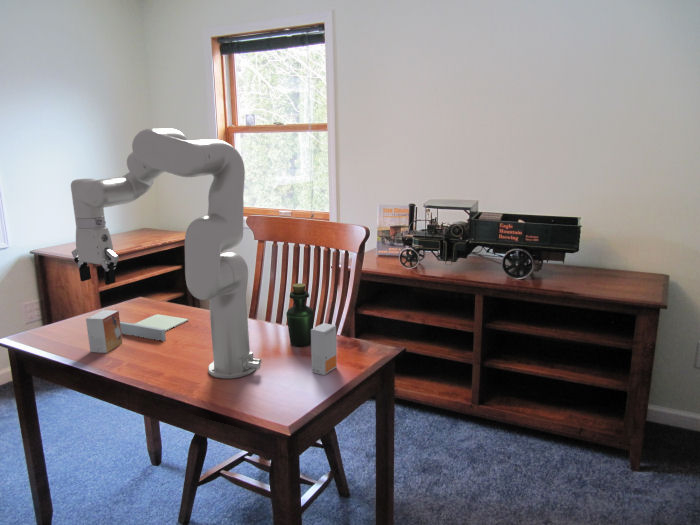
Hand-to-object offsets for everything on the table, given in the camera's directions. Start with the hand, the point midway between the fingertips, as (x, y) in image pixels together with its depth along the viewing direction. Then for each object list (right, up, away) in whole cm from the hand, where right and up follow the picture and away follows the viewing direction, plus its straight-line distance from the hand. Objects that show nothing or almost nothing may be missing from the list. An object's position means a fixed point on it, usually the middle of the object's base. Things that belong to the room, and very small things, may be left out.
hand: (98, 281), depth 159 cm
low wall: (+5, -17, +14) cm, 23 cm away
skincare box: (+66, -23, -13) cm, 71 cm away
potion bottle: (+58, -19, +6) cm, 61 cm away
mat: (+9, -15, +23) cm, 29 cm away
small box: (0, -20, +5) cm, 21 cm away
